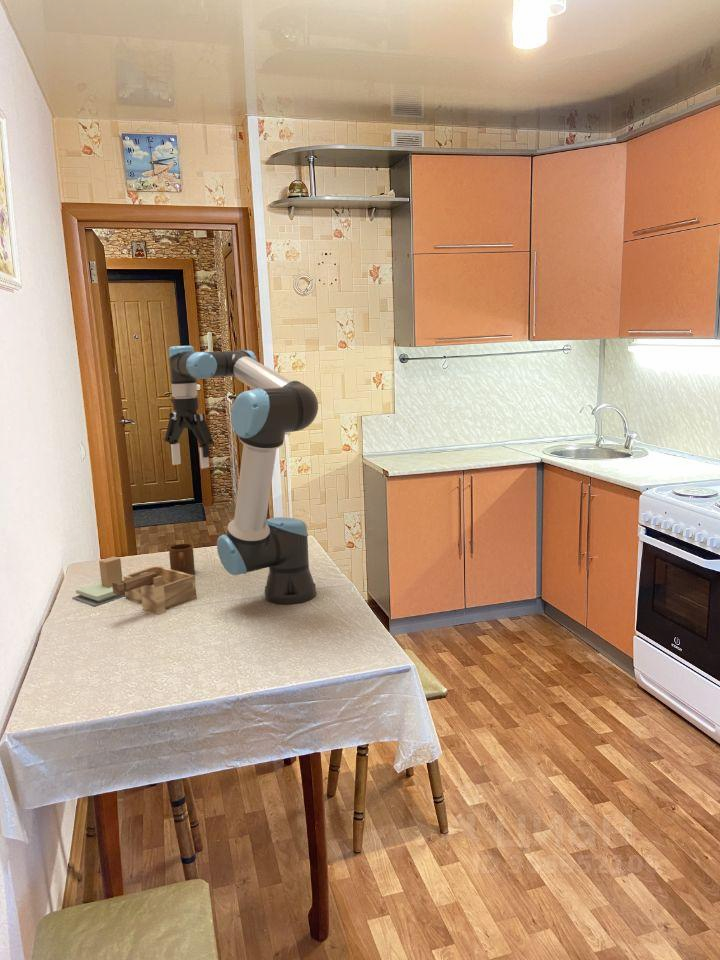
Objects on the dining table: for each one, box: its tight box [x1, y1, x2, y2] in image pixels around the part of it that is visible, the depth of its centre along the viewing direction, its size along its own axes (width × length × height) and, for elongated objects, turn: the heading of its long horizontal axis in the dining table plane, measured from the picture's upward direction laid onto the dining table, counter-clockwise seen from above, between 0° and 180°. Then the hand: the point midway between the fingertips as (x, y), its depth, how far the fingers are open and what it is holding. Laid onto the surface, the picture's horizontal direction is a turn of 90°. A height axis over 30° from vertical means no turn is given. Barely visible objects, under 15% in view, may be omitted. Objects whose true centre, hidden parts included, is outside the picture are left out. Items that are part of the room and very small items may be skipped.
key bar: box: [112, 572, 157, 595], centre depth 197 cm, size 3×12×3 cm, turn 142°
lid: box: [75, 556, 129, 602], centre depth 217 cm, size 18×11×10 cm, turn 142°
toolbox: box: [123, 565, 198, 615], centre depth 210 cm, size 19×14×10 cm
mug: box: [168, 543, 195, 575], centre depth 231 cm, size 12×8×9 cm, turn 15°
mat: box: [71, 594, 125, 608], centre depth 218 cm, size 12×20×1 cm, turn 142°
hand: (190, 466), depth 221 cm, fingers open, 13 cm apart
